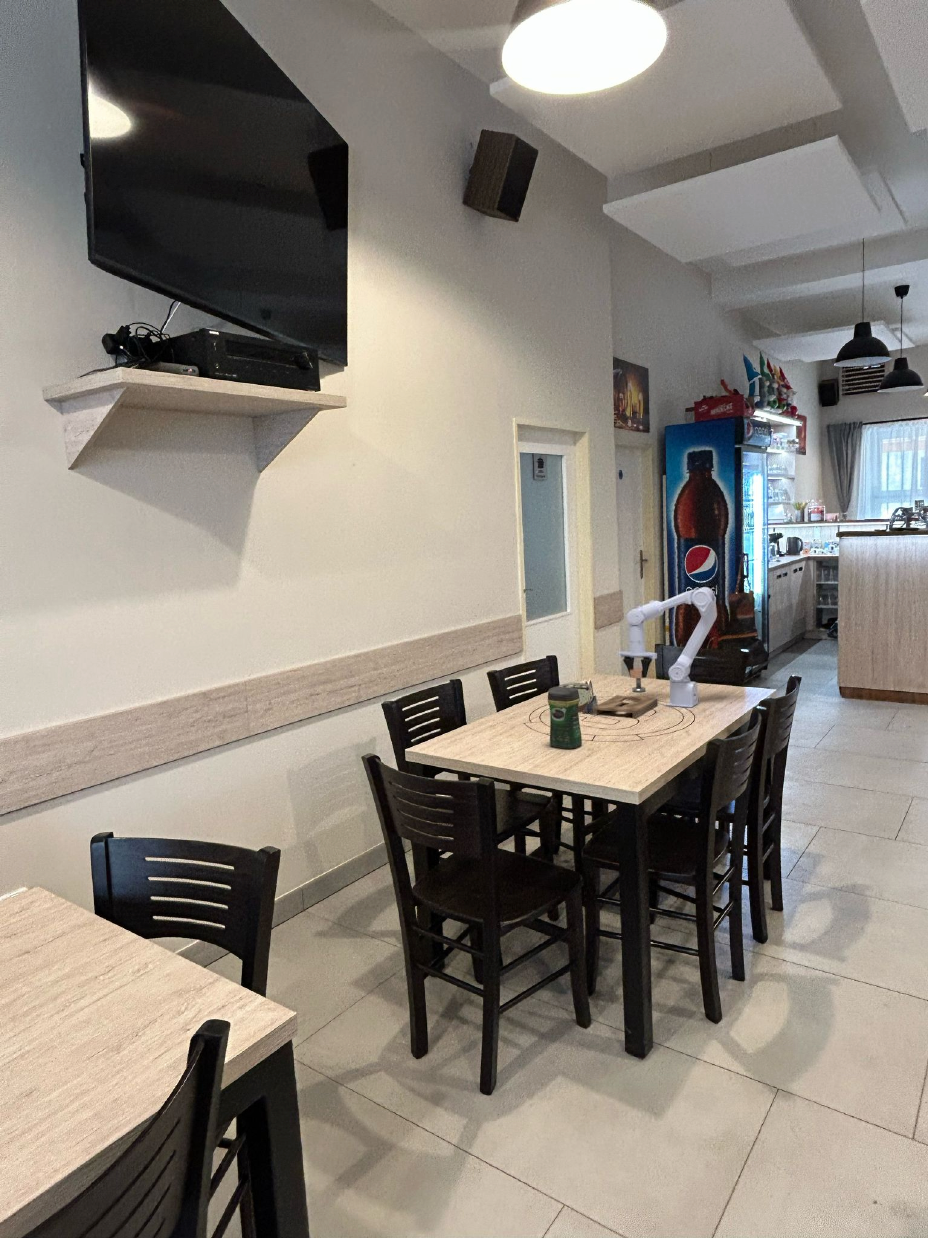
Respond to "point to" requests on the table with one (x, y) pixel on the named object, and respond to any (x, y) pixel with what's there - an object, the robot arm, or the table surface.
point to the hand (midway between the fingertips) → (638, 677)
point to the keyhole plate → (635, 708)
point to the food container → (580, 693)
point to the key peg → (637, 679)
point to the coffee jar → (564, 717)
